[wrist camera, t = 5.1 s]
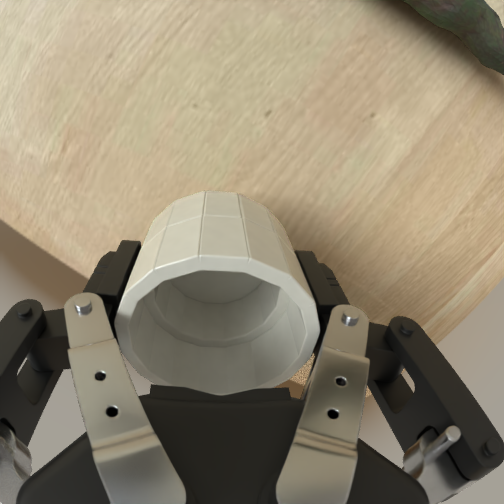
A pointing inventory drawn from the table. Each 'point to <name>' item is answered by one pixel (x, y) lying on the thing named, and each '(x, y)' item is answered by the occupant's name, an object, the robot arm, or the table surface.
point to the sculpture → (468, 26)
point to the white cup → (217, 299)
